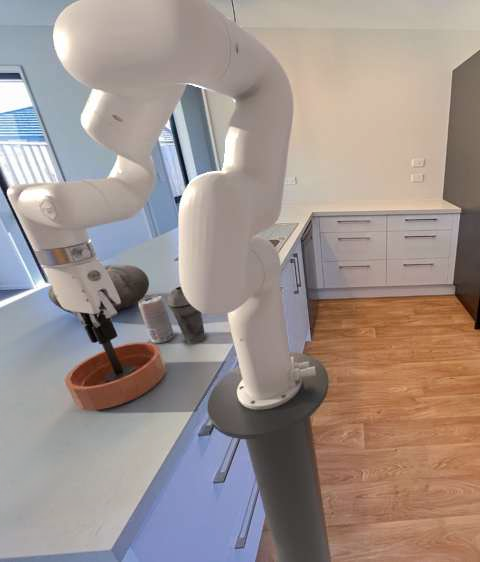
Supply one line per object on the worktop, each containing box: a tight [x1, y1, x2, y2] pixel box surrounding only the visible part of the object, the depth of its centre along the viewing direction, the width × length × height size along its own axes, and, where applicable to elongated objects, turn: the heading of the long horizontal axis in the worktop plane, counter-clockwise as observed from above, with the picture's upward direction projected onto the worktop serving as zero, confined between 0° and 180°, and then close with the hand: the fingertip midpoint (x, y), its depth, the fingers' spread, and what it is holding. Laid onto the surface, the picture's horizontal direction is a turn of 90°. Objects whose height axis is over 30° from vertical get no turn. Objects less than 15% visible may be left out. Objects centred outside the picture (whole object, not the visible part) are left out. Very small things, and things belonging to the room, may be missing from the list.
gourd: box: [47, 264, 150, 315], centre depth 99 cm, size 25×25×17 cm
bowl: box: [64, 341, 167, 411], centre depth 65 cm, size 16×16×6 cm
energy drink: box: [138, 295, 175, 344], centre depth 81 cm, size 5×5×12 cm
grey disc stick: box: [91, 316, 136, 383], centre depth 62 cm, size 5×5×16 cm
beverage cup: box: [167, 286, 206, 345], centre depth 79 cm, size 7×7×20 cm
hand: (104, 339), depth 61 cm, fingers closed on grey disc stick, 1 cm apart
